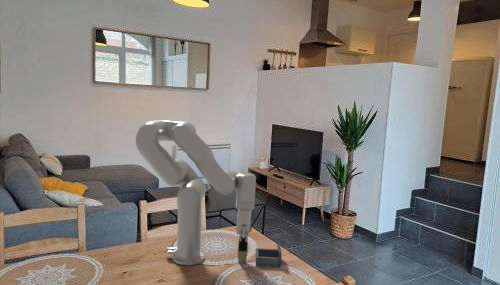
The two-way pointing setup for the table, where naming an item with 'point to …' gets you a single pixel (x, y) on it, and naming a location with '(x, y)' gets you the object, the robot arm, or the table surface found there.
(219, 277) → the table surface
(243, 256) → the handle
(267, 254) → the box
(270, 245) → the table surface
